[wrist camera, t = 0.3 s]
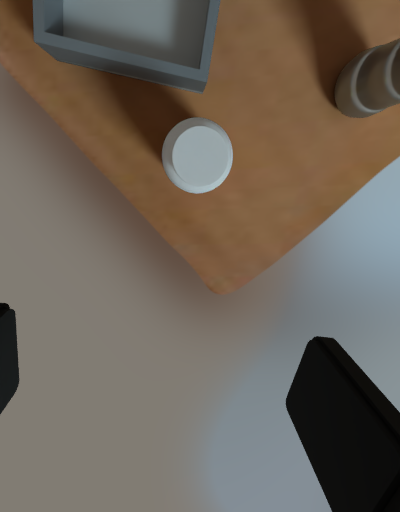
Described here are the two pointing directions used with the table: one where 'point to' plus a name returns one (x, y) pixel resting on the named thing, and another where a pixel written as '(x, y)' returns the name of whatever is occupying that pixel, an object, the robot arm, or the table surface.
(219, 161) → the supplement bottle
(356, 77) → the plastic bottle
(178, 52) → the box
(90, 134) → the table surface
